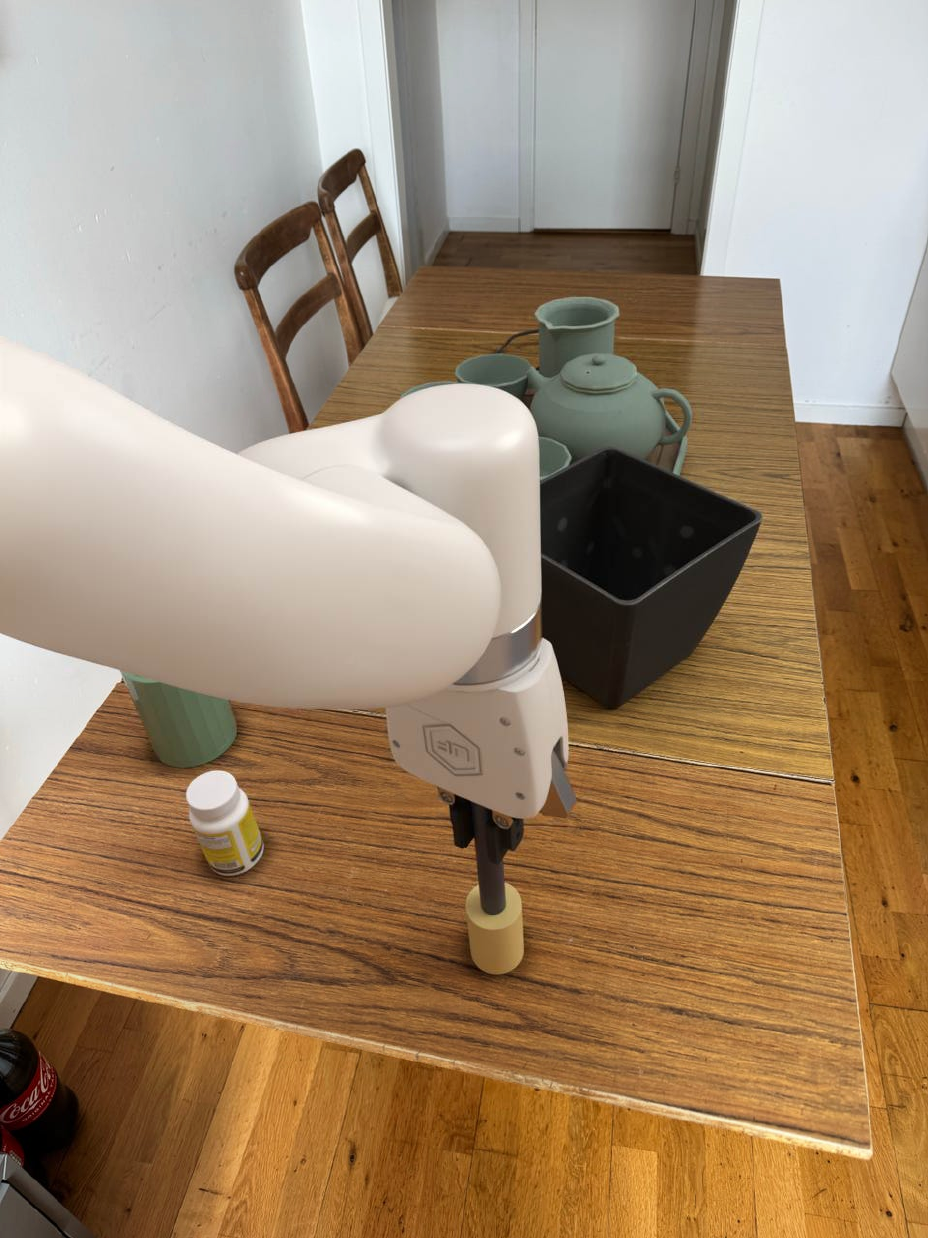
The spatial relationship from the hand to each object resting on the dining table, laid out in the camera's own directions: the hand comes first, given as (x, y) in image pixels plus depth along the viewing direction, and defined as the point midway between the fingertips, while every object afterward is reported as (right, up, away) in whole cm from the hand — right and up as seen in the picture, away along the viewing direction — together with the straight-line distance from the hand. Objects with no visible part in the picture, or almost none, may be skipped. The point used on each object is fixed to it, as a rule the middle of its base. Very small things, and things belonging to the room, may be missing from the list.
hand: (488, 838), depth 58 cm
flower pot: (+14, +11, +33) cm, 38 cm away
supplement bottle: (-21, -6, +17) cm, 27 cm away
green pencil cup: (-28, +3, +28) cm, 39 cm away
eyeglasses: (+12, +57, +90) cm, 107 cm away
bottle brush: (+1, -10, +9) cm, 14 cm away
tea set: (+8, +35, +64) cm, 74 cm away
